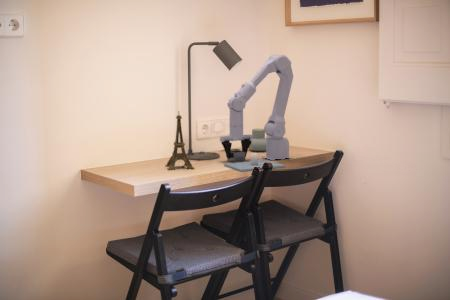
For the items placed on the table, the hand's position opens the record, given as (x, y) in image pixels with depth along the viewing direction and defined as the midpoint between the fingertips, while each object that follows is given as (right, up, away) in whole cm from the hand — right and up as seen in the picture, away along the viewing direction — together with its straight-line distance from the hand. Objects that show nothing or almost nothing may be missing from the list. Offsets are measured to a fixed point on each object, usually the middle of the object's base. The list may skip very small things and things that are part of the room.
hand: (236, 157), depth 283 cm
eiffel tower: (-23, -4, -14) cm, 27 cm away
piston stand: (+7, -4, -13) cm, 15 cm away
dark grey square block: (0, -1, 0) cm, 1 cm away
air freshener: (+11, +3, +27) cm, 29 cm away
